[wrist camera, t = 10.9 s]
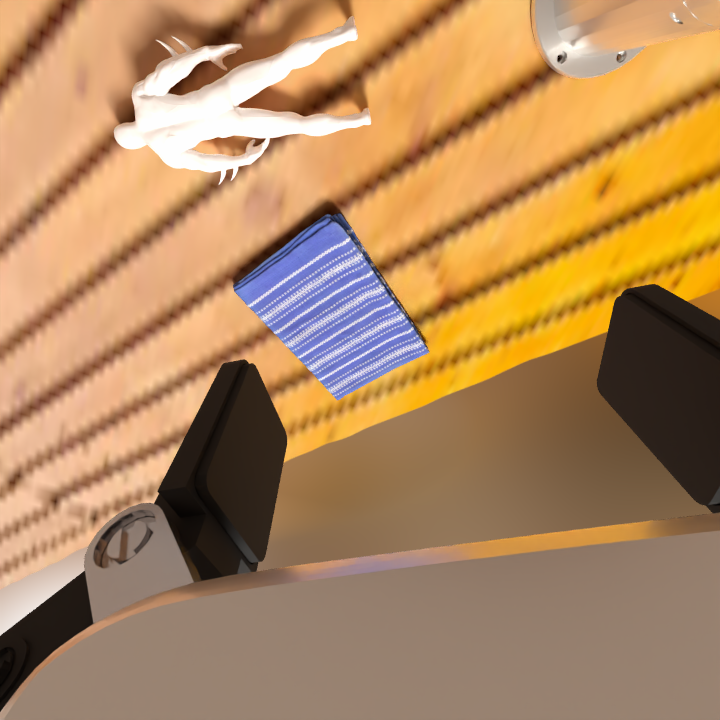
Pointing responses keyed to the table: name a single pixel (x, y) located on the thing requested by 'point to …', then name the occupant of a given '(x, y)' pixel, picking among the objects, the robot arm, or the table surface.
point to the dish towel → (332, 307)
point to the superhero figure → (225, 104)
